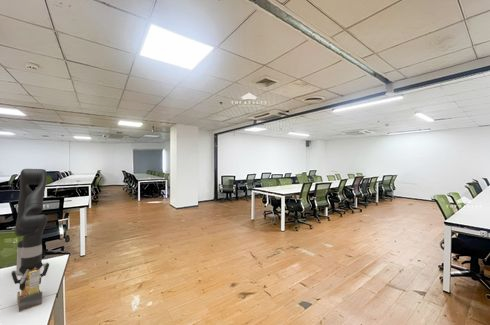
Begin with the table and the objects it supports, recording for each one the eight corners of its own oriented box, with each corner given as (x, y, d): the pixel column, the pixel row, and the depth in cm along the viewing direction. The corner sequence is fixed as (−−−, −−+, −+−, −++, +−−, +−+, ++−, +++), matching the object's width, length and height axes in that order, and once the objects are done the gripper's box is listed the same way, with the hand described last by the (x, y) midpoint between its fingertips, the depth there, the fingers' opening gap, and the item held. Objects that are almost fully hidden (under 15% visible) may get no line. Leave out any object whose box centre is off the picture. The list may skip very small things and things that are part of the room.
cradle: (17, 298, 110) (17, 287, 110) (38, 292, 116) (38, 281, 116) (19, 311, 100) (19, 299, 100) (41, 304, 106) (42, 292, 106)
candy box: (20, 298, 107) (21, 268, 107) (31, 294, 111) (32, 265, 111) (28, 304, 103) (29, 272, 103) (39, 299, 107) (40, 269, 107)
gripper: (49, 248, 115) (48, 279, 115) (10, 256, 104) (8, 290, 104) (51, 252, 110) (50, 284, 110) (11, 261, 99) (9, 297, 99)
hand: (30, 287), depth 107 cm, fingers closed on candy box, 5 cm apart
